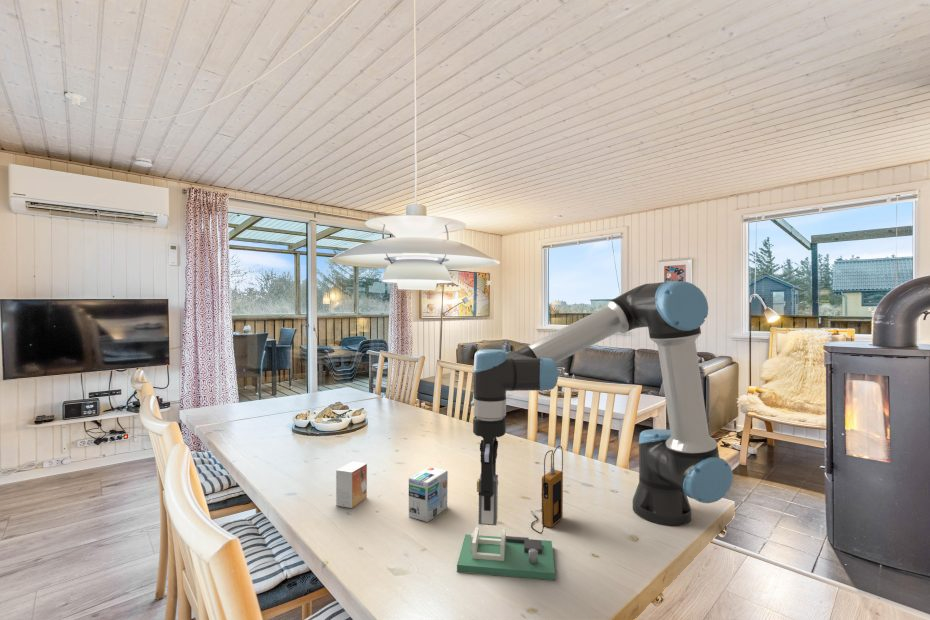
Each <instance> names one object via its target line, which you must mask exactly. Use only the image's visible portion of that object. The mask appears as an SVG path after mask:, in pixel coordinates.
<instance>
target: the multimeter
mask: <svg viewBox="0 0 930 620" xmlns="http://www.w3.org/2000/svg"><path fill="white" fill-rule="evenodd" d="M558 448H560V449H561V470H558V469H555V457H554V456H555V453H556V451H557V450H558ZM550 452H551V454H550V455H551V456H550V470H549V472H548V473H546V457H547V455H548V454H549V453H550ZM563 452H564V451H563V446H561V445H557V447H555V449H554V450H553V449H551V450H547V452H546V453H545V455H544V461H543V474H544V475H543V476H542V477H541V508H540V509H536V510H534V511H535V512H538V511H540V512H541V525H542V530H541V532H540V531H538V530H536V529H535V528H534V527H533V524H534V523H535V522H537V521H538V520H539V518H538V516H536V514H535V513H534V511H533V510H532V509H529V510H530V511H529V512H530V513H531V514H532V516H533V517H534V518H535V519H536V520H534V521H532V522H531V523H530V528H531V529H532V530H533V531H535V532H536V533H538V534H543V532H544V528H545V527H548V528H550V529H551V528H553V527H554V526H555V525H556V524H557V523H558V522H560V521H561V520H562V519H563V517H564V515H563V514H564V513H563V511H564V506H563V503H564V500H563V498H564V495H563V493H564V492H563V491H564V490H563V489H564V485H563V484H564V482H563V481H564V472H563V469H564V467H563V465H564V464H563V463H564V453H563Z"/></svg>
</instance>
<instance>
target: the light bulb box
mask: <svg viewBox="0 0 930 620" xmlns="http://www.w3.org/2000/svg"><path fill="white" fill-rule="evenodd" d="M448 473H449V472H448V470H445V469H441V468H436V467H434V466H433V467H432V466H428V467H425V469H422V470H421V471H419V472H417V473H416V474H414V475H412V476H411V477H408V517H409V518H413V519H415V520H419V521H423V522H426V523H428V522H430V521H432V520H433V519H434V518H435V517H436V516H439V514H441V513H442V512H444V511H445V510H446V509H448V486H449V485H448V480H449V479H448V476H449V475H448Z"/></svg>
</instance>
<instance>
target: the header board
mask: <svg viewBox="0 0 930 620" xmlns="http://www.w3.org/2000/svg"><path fill="white" fill-rule="evenodd" d="M506 531H507V530H506V528H502V530H501V536H493V535H480V526H479V527H478V526H475V529H474V531H473V532H471V534H464V538H463V542H462V544H461V548H460V549H461V550H460V553H459V557H458V559H457V563H456V572H458V573H466V574H468V573H469V574H479V575H491V576H503V577H514V578H523V579H525V578H527V579H534V580H548V581H556V570H555V561H554V550H553V541H552V540H546V539H533V538H529V537H525V536H524V537H523V536H513V535H512V536H511V535H506V534H507V533H506Z"/></svg>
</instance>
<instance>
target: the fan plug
mask: <svg viewBox="0 0 930 620" xmlns="http://www.w3.org/2000/svg"><path fill="white" fill-rule="evenodd" d="M498 478H499V475H498V474H496V475H495V474H493V492H494V523H493V524H482V523H481V505H482V496H481V495H478V525H481V526H482V525H484V526H485V525H487V526H497V523H498V510H499V508H498V507H499V506H498V500H499V499H498V498H499V496H498V494H499V491H498V489H499V487H498V486H499V480H498ZM476 492H477V493H479V492H481V474H480V476H479V478H477V480H476Z"/></svg>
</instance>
